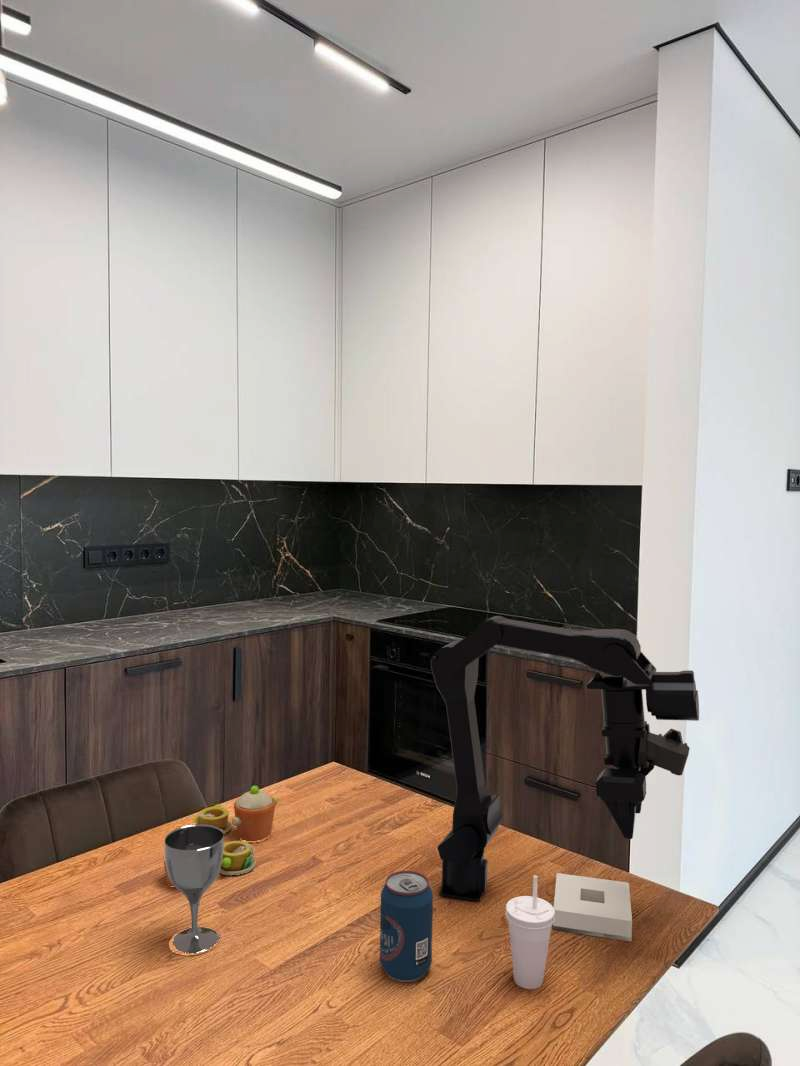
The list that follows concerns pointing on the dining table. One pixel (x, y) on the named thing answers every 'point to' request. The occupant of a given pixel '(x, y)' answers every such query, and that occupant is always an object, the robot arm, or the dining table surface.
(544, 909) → the smoothie
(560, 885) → the flat gift box
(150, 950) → the dining table surface
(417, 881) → the soda can
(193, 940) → the wine glass
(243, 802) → the toy tea set
